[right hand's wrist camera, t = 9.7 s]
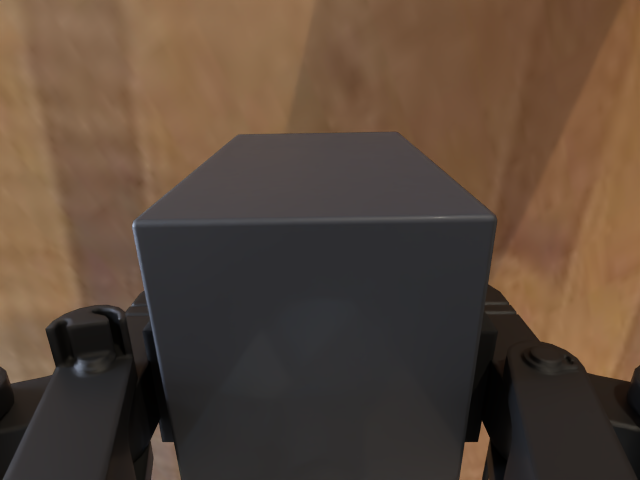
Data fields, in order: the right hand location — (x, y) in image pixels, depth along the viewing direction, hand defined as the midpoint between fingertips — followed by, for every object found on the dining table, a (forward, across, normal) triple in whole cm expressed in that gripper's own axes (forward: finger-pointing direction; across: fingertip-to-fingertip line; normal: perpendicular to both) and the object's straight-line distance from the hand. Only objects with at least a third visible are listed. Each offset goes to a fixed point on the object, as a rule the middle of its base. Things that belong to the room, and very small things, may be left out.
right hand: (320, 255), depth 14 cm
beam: (0, 0, -14) cm, 14 cm away
